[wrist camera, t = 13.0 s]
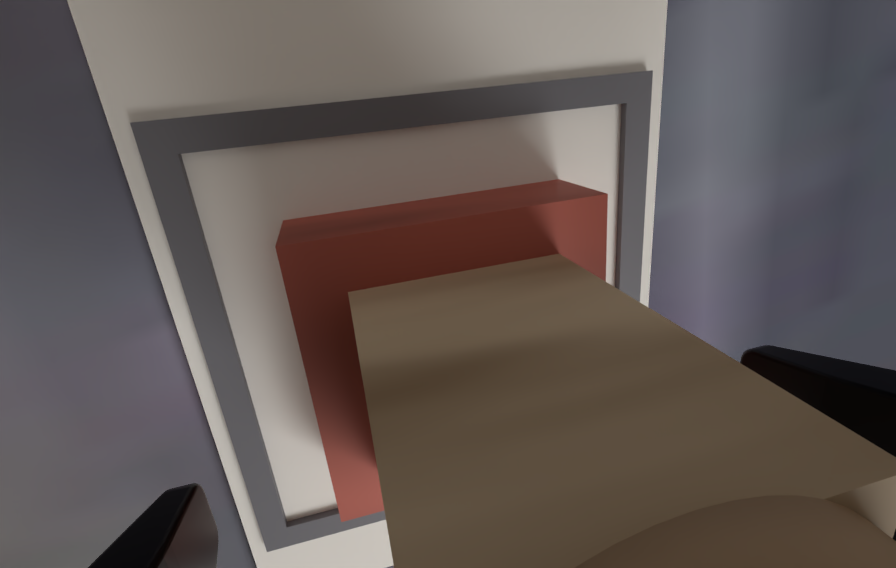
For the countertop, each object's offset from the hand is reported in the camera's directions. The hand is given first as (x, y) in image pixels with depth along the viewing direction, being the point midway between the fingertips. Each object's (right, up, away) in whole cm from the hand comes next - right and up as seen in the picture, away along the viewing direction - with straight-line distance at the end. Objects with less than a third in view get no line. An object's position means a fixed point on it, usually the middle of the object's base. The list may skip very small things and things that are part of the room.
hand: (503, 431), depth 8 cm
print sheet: (-1, +1, +4) cm, 4 cm away
